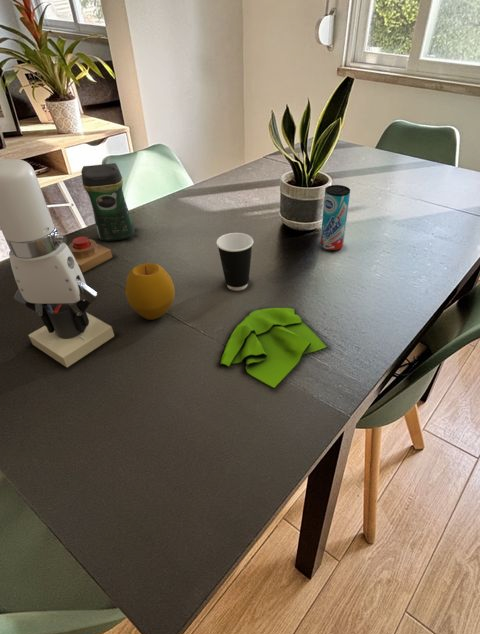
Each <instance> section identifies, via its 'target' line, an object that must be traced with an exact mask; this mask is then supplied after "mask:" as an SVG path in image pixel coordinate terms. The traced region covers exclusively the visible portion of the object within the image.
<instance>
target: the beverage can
mask: <svg viewBox="0 0 480 634" xmlns="http://www.w3.org/2000/svg"><path fill="white" fill-rule="evenodd" d="M350 196H351V189H350V188H349V187H348V186H346V185H341V184H332V185H328V186H326V187H325V188H324V196H323V197H324V198H323V207H322V220H321V229H320V231H321V232H320V242H319V244H320V247H321V249H322V250H324V251H327V252H338V251H340V250H342V248H343V247H344V242H345V235H346V226H347V219H348V211H349V204H350Z"/></svg>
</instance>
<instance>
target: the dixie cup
mask: <svg viewBox="0 0 480 634" xmlns="http://www.w3.org/2000/svg"><path fill="white" fill-rule="evenodd" d="M215 242H216V243H215V244H216V246H217V249H218V252H219V258H220V262H221V267H222V272H223V277H224V282H225V284H226V285H227V288H228V289H229V290H231V291H238V292H239V291H243V290H245V289H246V288H247V287H248V285H249V282H250V274H251V263H252V262H251V261H252V251H253V245H254V239H253V237H252V236H251V235H249V234H246V233H243V232H230V233H226V234H223V235H221V236H219V237H218V238H217V239H216V241H215Z"/></svg>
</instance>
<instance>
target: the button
mask: <svg viewBox="0 0 480 634" xmlns="http://www.w3.org/2000/svg"><path fill="white" fill-rule="evenodd" d="M88 239H89V238H88V237H87V236H78V237H76V238H73V240H72V242H73V244H74V247H75V249H78V250H81V249H86V248H88V247H90V243H89V240H88Z"/></svg>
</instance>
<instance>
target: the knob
mask: <svg viewBox="0 0 480 634" xmlns="http://www.w3.org/2000/svg"><path fill="white" fill-rule="evenodd" d="M46 312H47V314H48V316H49V318H50V321H51V323H52V325H53V328H54V330H55V332H56V334H57V336H58V337H60V338H63V339H69V338H73V337H76V336H78V335H79V334H80V332H79V330H78V327H77V325H76V322H75V320H74V315H75V313H74V311H73V310H72V309H71V307H70V306H69V305H68V303H48V304H47V306H46Z"/></svg>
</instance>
